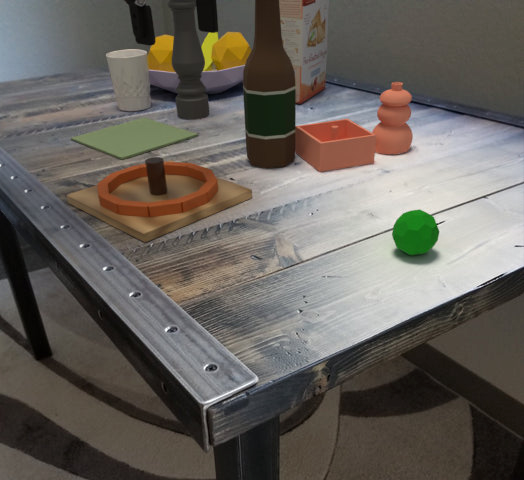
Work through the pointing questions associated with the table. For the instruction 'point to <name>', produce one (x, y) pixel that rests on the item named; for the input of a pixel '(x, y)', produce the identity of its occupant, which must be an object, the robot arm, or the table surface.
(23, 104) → the table surface
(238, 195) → the post stand
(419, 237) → the polyhedron
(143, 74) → the white cup
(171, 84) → the fruit bowl
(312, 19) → the cracker box
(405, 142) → the pottery
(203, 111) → the grey turned spindle
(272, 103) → the beer bottle
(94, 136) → the mat
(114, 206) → the ring
